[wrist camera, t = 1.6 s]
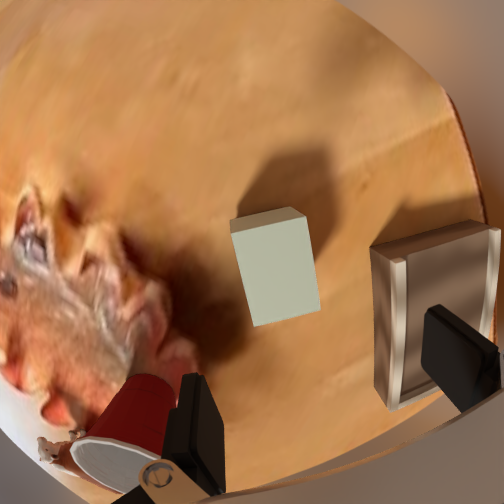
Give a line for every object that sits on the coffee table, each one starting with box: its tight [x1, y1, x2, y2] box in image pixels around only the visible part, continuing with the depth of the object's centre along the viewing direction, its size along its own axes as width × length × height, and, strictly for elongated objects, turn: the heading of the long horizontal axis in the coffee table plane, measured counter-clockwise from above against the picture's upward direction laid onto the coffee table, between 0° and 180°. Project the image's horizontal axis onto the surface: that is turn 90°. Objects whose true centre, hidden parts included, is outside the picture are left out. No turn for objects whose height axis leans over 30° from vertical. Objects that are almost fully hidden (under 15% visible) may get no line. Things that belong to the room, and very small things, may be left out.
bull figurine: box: [37, 429, 123, 494], centre depth 28 cm, size 4×13×8 cm, turn 51°
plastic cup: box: [70, 374, 176, 494], centre depth 24 cm, size 11×11×12 cm
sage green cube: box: [230, 206, 321, 327], centre depth 23 cm, size 7×5×6 cm
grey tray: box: [369, 220, 501, 413], centre depth 27 cm, size 18×14×5 cm
